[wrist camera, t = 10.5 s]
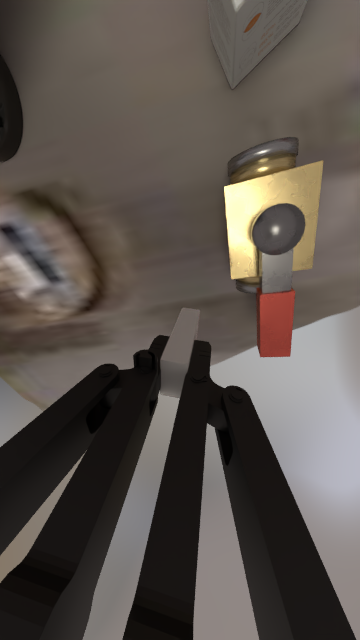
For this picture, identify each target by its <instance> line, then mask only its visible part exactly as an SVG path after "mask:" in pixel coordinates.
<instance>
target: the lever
mask: <svg viewBox="0 0 360 640" xmlns="http://www.w3.org/2000/svg"><path fill="white" fill-rule="evenodd" d="M304 231H305V217H304V214H303V212H302V211H301V210H300V209H299V208H298V207H297V206H295V205H293V204H289V203H281V204H277V205H274V206H271V207H268V208H266V209H265V210H263V211H262V212H261V213H260V214H259V215H258V216H257V217H256V218H255V220H254V222H253V224H252V227H251V240H252V242H253V244H254V245H255V247H256V248H257V249H259V288H256V300H257V346H258V350H259V353H260V357H286V356H287V357H288V356H290V352H291V339H292V326H293V312H294V299H295V291H294V290H293V289H292V288H291V282H292V267H293V251H294V247H295V246H296V245H297V244H298V243H299V241H300V240H301V238H302V236H303V234H304Z"/></svg>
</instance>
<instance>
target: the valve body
mask: <svg viewBox="0 0 360 640" xmlns="http://www.w3.org/2000/svg"><path fill="white" fill-rule="evenodd" d="M295 161H296V154H295V153H285V154H279V155H275V156H271V157H267V158H264V159H261V160H258V161H255V162H252V163H250V164H247V165H245V166H243V167H241V168H239V169H237V170H235V171H234V172H232V173H231V174H230V181H231V185H230V186H226V187H224V202H225V214H226V227H227V239H228V251H229V263H230V271H231V279H237V281H238V282H239V283H242V284H249V285H259V249H257V248H256V247H255V245H254V244H253V242H252V240H251V227H252V224H253V222H254V220H255V218H256V217H257V216H258V215H259V214H260V213H261V212H262V211H263V210H265V209H266V208H268V207H271V206H274V205H277V204H281V203H289V204H293V205H295V206H297V207H298V208H299V209H300V210H301V211H302V212H303V214H304V217H305V231H304V234H303V236H302V238H301V240H300V241H299V243H298V244H297V245H296V246H295V247H294V251H293V267H292V271H296V270H304V269H311V268H312V265H313V256H314V246H315V236H316V227H317V217H318V207H319V198H320V188H321V178H322V169H323V161H319V162H315V163H312V164H308V165H304V166H301V167H297V168H295Z"/></svg>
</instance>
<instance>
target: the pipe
mask: <svg viewBox="0 0 360 640" xmlns="http://www.w3.org/2000/svg"><path fill="white" fill-rule="evenodd" d="M298 144H299V139H298V138H296V137H287V138H281V139H276V140H272V141H269V142H266V143H263V144H260V145H257V146H255V147H252V148H250V149H248V150H246V151H244V152H242V153H240V154H238V155H236V156H235V157H233V158H232V159H231V160H230V161H229V162H228V176H229V177H230V174H231V173H232V172H234V171H235V170H237V169H239V168H241V167H243V166H245V165H247V164H250V163H252V162H255V161H258V160H261V159H264V158H267V157H271V156H275V155H279V154H285V153H295V154H296V156H297V155H298ZM236 288H237V290H239V291H241V292H245V293H256V288H259V285H249V284H242V283H239V282H238V281H237V279H236Z"/></svg>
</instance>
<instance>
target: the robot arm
mask: <svg viewBox="0 0 360 640" xmlns="http://www.w3.org/2000/svg"><path fill="white" fill-rule="evenodd" d="M21 134H22V114H21V107H20V102H19V97H18V94H17V90H16V87H15V84H14V81H13V79H12V76H11V74H10V72H9V70H8V68H7V66H6V64H5V62H4V60H3V58H2V57H1V55H0V162H2V161H5V160H8V159H9V158H11V157H12V156H13V155H14V153H15V152H16V150H17V148H18V146H19V143H20V139H21ZM199 315H200V310H197V309H189V308H182V309H181V312H180V314H179V316H178V319H177V321H176V323H175V326H174V328H173V330H172V333H171V335H170V336H163V335H159V336H157V337H156V338H154V340H153V342H152V344H151V346H150V348H149V349H148V350H140V351H138V352H136V353H135V354H134V355H133V357H134V368H132V369H126V370H119V369H118V367H117V366H116V365H114V364H104V365H101V366H99V367H97V368H96V369H95V370H93V371H92V372H91V373H90V374H89V375H87V376H86V377H85V378H84V379H82V380H81V381H80V382H79V383H78V384H76V385H75V386H74V387H73V388H72V389H70V390H69V391H68V392H67V393H66V394H64V395H63V396H62V397H61V398H59V399H58V400H57V401H56V402H55V403H53V404H52V405H51V406H50V407H49V408H47V409H46V410H45V411H44V412H43V413H41V414H40V415H39V416H38V417H37V418H35V419H34V420H33V421H32V422H30V423H29V424H28V425H27V426H26V427H25V428H23V429H22V430H21V431H20V432H18V433H17V434H16V435H15V436H13V437H12V438H11V439H10V440H9V441H7V442H6V443H5V444H4V445H3V446H1V447H0V555H1V554H2V553H3V551H4V550H5V549H6V548H7V547H8V545H9V544H10V543H11V542H12V541H13V539H14V538H15V537H16V536H17V534H18V533H19V532H20V531H21V530H22V528H23V527H24V526H25V525H26V523H27V522H28V521H29V520H30V519H31V517H32V516H33V515H34V514H35V512H36V511H37V510H38V509H39V508H40V506H41V505H42V504H43V503H44V502H45V500H46V499H47V498H48V497H49V496H50V494H51V493H52V492H53V490H54V489H55V488H56V487H57V486H58V484H59V483H60V482H61V481H62V480H63V478H64V477H65V476H66V475H67V474H68V472H69V471H70V470H71V469H72V467H73V466H74V465H75V464H76V463H77V461H78V460H79V459H80V458H81V456H82V455H83V454H84V453H85V452H86V453H85V455H84V456H83V458H82V460H81V462H80V464H79V465H78V467H77V469H76V470H75V472H74V474H73V476H72V478H71V479H70V481H69V483H68V484H67V486H66V488H65V490H64V492H63V493H62V495H61V497H60V499H59V500H58V502H57V504H56V505H55V507H54V509H53V511H52V513H51V514H50V516H49V518H48V520H47V521H46V523H45V525H44V527H43V528H42V530H41V532H40V534H39V535H38V537H37V539H36V541H35V542H34V544H33V546H32V548H31V549H30V551H29V553H28V554H27V556H26V557H25V558H24V559H23V561H22V562H21V563H20V564H19V565H17V566H16V567H15V568H14V569H13V570H12V571H11V572H9V573H8V574H7V576H6V577H5V578H4V579H3V580H2V582H1V583H0V640H82V639H83V636H84V633H85V630H86V626H87V623H88V619H89V615H90V611H91V606H92V600H93V595H94V591H95V588H96V585H97V581H98V579H99V576H100V573H101V570H102V567H103V564H104V561H105V558H106V555H107V552H108V549H109V546H110V542H111V540H112V537H113V534H114V531H115V528H116V525H117V522H118V519H119V516H120V513H121V510H122V507H123V504H124V501H125V498H126V495H127V492H128V489H129V486H130V483H131V480H132V477H133V474H134V471H135V468H136V465H137V462H138V459H139V456H140V453H141V450H142V447H143V444H144V441H145V438H146V435H147V432H148V429H149V426H150V423H151V420H152V417H153V415H154V412H155V408H156V406H157V403H158V394H159V391H160V394H162V395H166V396H171V397H176V398H180V400H179V405H178V409H177V414H176V418H175V422H174V427H173V431H172V436H171V440H170V444H169V449H168V453H167V458H166V462H165V466H164V471H163V475H162V480H161V484H160V488H159V493H158V498H157V502H156V506H155V510H154V515H153V519H152V524H151V528H150V533H149V537H148V541H147V546H146V550H145V555H144V560H143V563H142V568H141V572H140V577H139V581H138V585H137V590H136V594H135V598H134V601H133V605H132V608H131V611H130V614H129V617H128V621H127V625H126V628H125V632H124V636H123V640H193V617H194V600H195V586H196V570H197V557H198V543H199V528H200V514H201V500H202V485H203V471H204V456H205V442H206V441H205V440H206V427H207V423H208V424H210V425H211V426H213V427H215V432H216V436H217V441H218V446H219V450H220V455H221V460H222V465H223V470H224V474H225V479H226V483H227V489H228V493H229V498H230V503H231V508H232V512H233V517H234V522H235V526H236V531H237V536H238V541H239V545H240V550H241V555H242V560H243V564H244V569H245V574H246V579H247V583H248V588H249V593H250V598H251V602H252V606H253V612H254V617H255V621H256V626H257V631H258V635H259V640H356V638H355V636H354V633H353V631H352V629H351V627H350V624H349V622H348V620H347V617H346V615H345V613H344V611H343V608H342V606H341V604H340V601H339V599H338V597H337V595H336V592H335V590H334V588H333V585H332V583H331V581H330V579H329V577H328V574H327V572H326V569H325V567H324V565H323V563H322V560H321V558H320V556H319V553H318V551H317V549H316V547H315V544H314V542H313V540H312V538H311V535H310V533H309V531H308V529H307V526H306V524H305V522H304V519H303V517H302V515H301V513H300V510H299V508H298V506H297V504H296V501H295V499H294V496H293V494H292V492H291V490H290V487H289V486H288V483H287V480H286V478H285V476H284V474H283V472H282V469H281V467H280V465H279V462H278V460H277V458H276V455H275V453H274V451H273V448H272V446H271V444H270V442H269V439H268V437H267V435H266V433H265V430H264V428H263V426H262V423H261V421H260V419H259V417H258V414H257V412H256V410H255V407H254V405H253V403H252V401H251V398H250V396H249V395H248V393H247V392H246V391H245V390H244V389H242V388H240V387H238V386H227V387H226V388H223V387H221V386H218V385H217V384H215V383H214V382H213V381H212V379H211V378H210V359H211V345H210V344H209V342H205V341H199V340H196V339H197V332H198V323H199ZM86 450H87V451H86Z"/></svg>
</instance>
